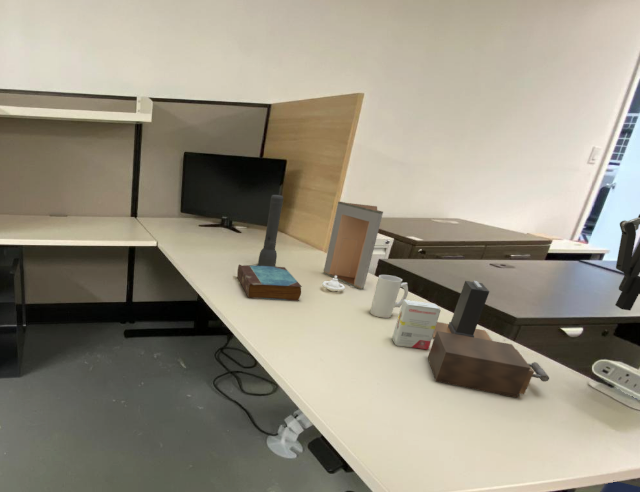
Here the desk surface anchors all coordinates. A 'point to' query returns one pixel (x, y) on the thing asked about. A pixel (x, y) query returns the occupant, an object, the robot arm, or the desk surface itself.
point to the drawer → (533, 375)
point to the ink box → (416, 324)
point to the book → (268, 282)
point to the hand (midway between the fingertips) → (622, 307)
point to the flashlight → (271, 233)
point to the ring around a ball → (333, 285)
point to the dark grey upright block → (468, 309)
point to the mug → (387, 295)
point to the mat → (444, 328)
